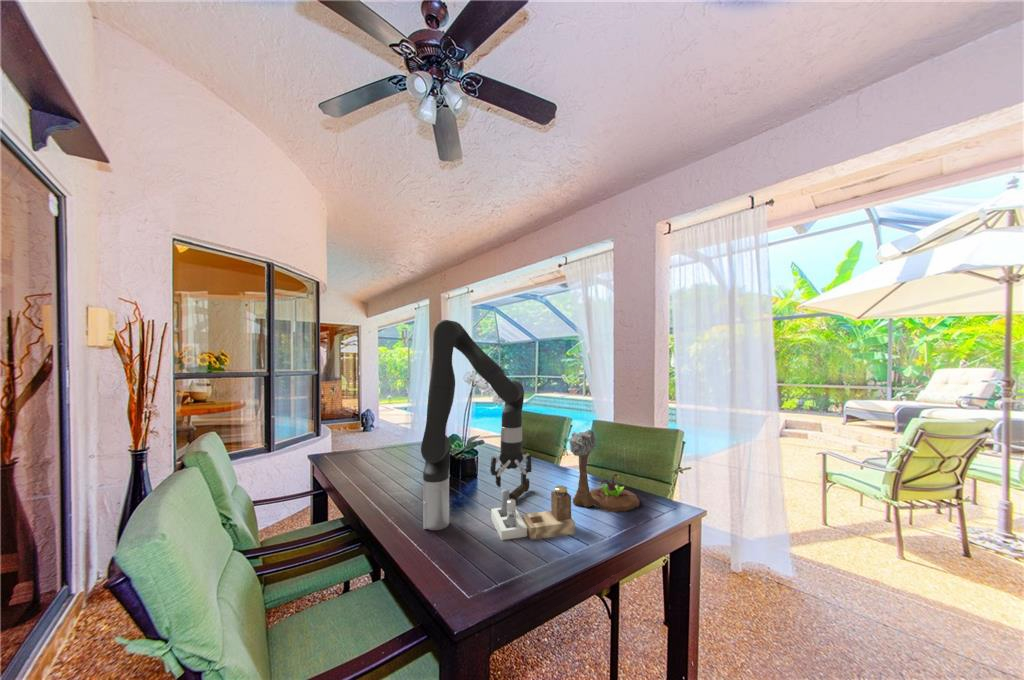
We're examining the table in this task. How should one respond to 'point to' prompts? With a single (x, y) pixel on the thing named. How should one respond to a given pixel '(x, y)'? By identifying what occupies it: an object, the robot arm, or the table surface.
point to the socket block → (551, 519)
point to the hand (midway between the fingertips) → (510, 485)
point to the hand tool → (519, 490)
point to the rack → (501, 520)
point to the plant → (614, 497)
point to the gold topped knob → (561, 490)
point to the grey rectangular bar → (511, 513)
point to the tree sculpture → (583, 465)
